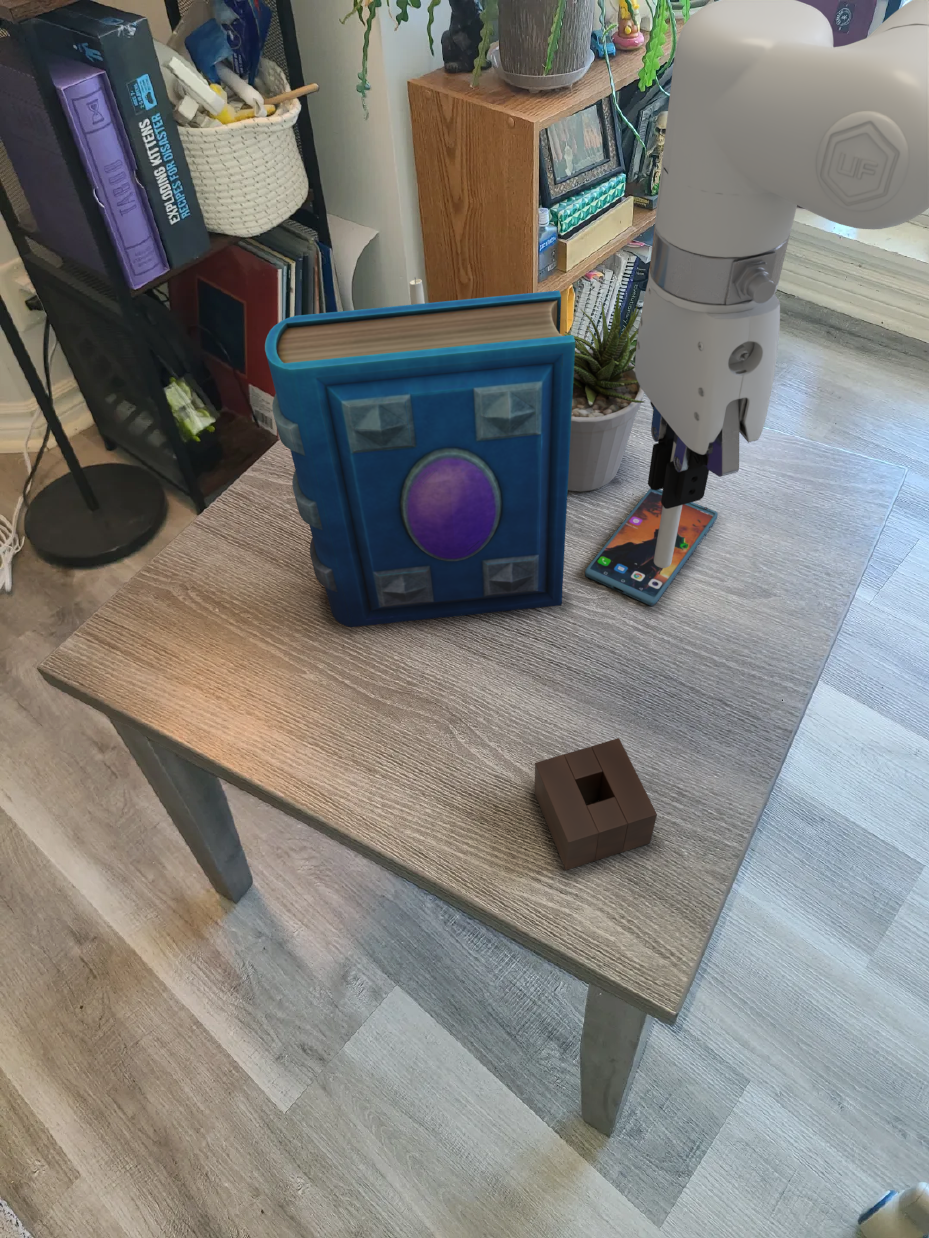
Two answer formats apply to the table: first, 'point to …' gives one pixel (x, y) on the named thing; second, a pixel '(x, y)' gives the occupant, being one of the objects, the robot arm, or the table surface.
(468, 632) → the table surface
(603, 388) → the potted plant
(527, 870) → the table surface
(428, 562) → the book
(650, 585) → the smartphone
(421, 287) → the candle
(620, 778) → the pen stand
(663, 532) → the stylus
